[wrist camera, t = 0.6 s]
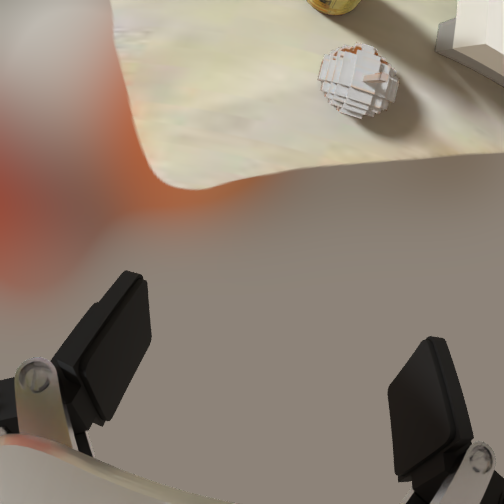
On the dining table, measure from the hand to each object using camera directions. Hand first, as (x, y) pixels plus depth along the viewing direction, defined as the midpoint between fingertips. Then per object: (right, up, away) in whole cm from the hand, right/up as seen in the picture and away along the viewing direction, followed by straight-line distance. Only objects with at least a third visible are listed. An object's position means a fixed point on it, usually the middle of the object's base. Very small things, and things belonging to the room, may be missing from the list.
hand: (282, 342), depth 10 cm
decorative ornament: (+10, +22, +20) cm, 31 cm away
